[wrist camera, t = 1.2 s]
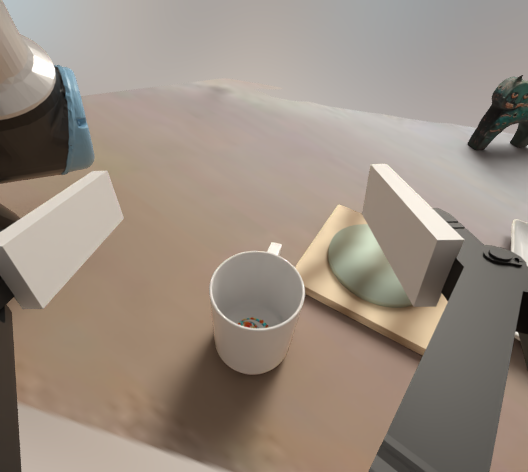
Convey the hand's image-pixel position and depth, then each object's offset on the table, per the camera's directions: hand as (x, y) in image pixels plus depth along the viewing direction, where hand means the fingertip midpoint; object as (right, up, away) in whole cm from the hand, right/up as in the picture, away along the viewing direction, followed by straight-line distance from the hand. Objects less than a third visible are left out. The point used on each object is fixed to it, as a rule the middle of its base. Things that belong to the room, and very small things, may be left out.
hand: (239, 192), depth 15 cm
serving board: (+18, -7, +29) cm, 35 cm away
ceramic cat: (+65, +23, +64) cm, 95 cm away
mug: (0, -14, +21) cm, 25 cm away
